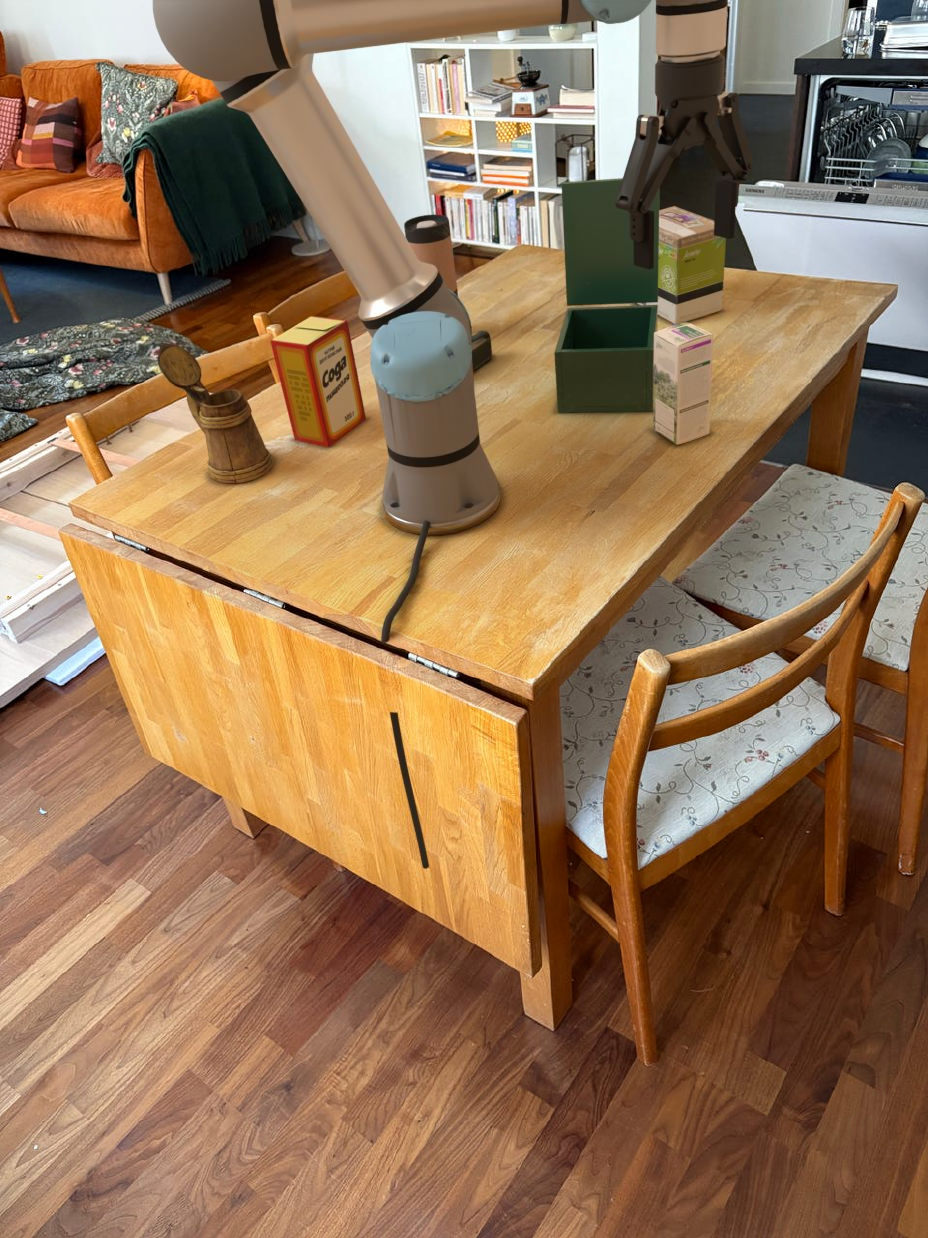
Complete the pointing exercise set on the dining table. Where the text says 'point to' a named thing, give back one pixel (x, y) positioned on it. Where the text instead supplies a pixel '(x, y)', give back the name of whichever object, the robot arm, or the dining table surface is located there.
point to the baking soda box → (319, 380)
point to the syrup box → (682, 382)
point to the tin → (606, 359)
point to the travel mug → (433, 245)
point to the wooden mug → (218, 420)
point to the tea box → (688, 266)
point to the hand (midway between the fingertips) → (684, 251)
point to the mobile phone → (481, 349)
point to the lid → (604, 247)
